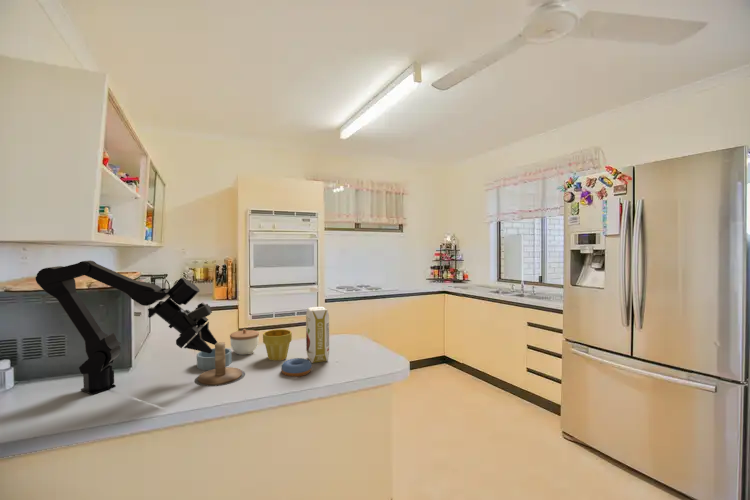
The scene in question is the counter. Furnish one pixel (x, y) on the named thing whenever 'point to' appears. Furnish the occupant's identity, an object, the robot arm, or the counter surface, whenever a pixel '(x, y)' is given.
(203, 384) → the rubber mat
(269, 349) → the plant pot
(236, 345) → the lidded jar
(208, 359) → the ceramic bowl
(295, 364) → the doughnut
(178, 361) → the counter surface
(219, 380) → the walnut lid
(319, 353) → the juice carton
